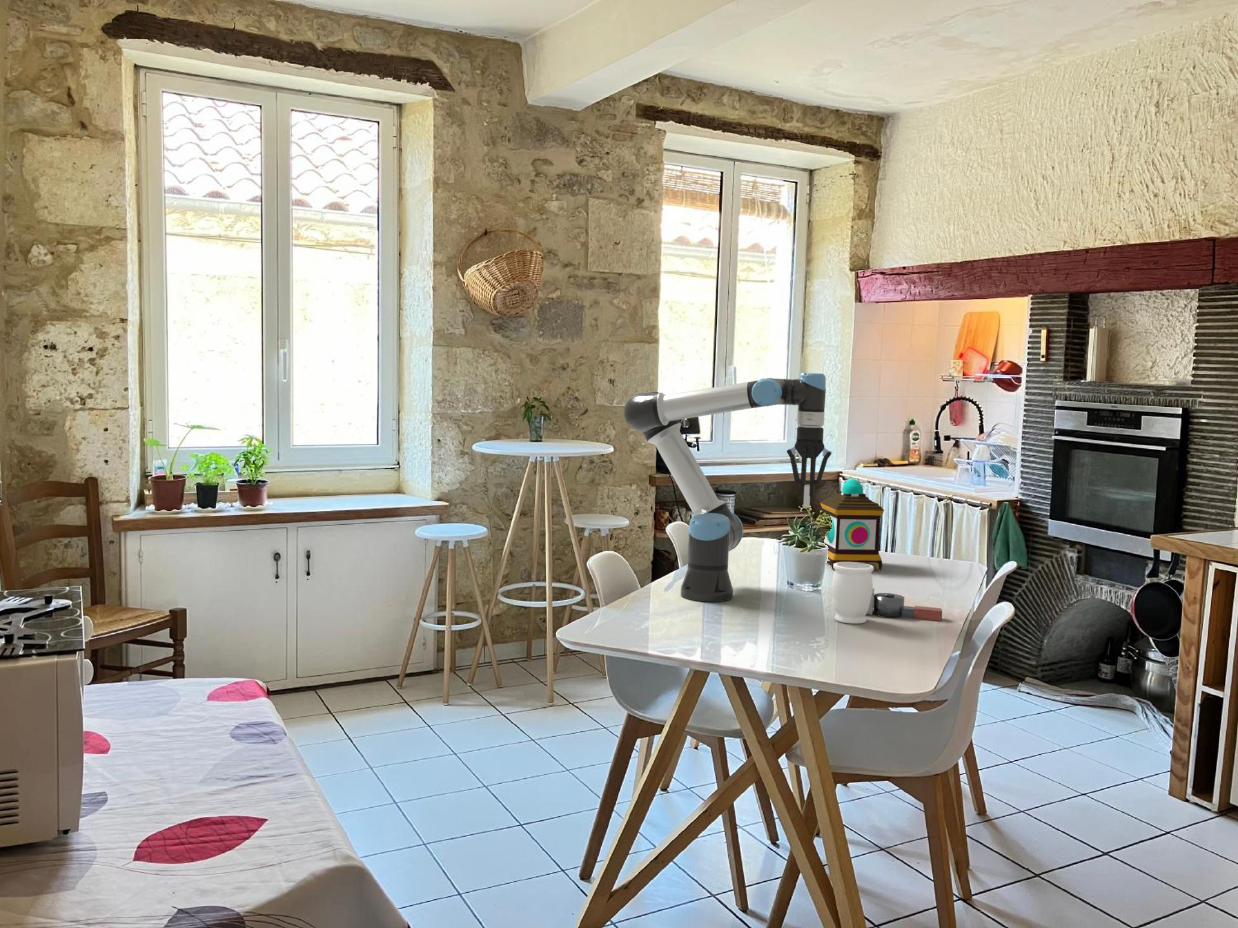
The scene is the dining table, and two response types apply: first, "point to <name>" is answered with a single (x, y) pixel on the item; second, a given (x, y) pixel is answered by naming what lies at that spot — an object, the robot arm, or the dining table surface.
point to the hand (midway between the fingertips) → (806, 507)
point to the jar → (852, 591)
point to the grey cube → (871, 604)
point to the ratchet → (902, 608)
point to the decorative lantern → (853, 526)
